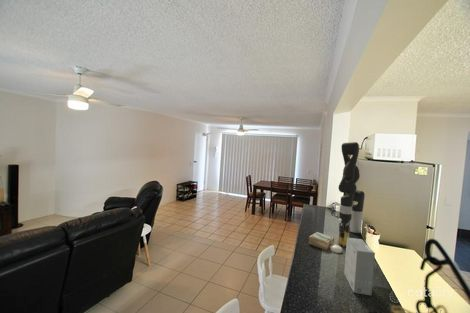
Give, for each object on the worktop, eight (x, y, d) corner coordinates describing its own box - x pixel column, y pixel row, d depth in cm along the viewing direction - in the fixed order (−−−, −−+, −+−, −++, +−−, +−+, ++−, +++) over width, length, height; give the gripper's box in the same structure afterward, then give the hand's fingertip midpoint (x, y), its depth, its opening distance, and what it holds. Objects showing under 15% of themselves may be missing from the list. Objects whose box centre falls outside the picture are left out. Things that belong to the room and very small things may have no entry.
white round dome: (332, 246, 142) (332, 243, 142) (343, 250, 138) (343, 247, 137) (328, 250, 138) (328, 246, 137) (339, 254, 133) (339, 250, 132)
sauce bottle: (336, 243, 148) (338, 215, 146) (344, 243, 148) (346, 215, 147) (341, 247, 141) (343, 218, 140) (350, 247, 142) (352, 218, 140)
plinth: (316, 238, 154) (316, 231, 153) (333, 244, 145) (334, 236, 145) (308, 243, 145) (309, 235, 145) (326, 250, 137) (326, 242, 137)
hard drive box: (372, 296, 95) (375, 253, 94) (353, 293, 97) (356, 251, 96) (359, 275, 110) (362, 238, 109) (343, 273, 112) (346, 236, 111)
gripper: (343, 208, 151) (341, 231, 152) (335, 212, 141) (334, 237, 142) (355, 211, 146) (353, 235, 147) (348, 215, 135) (346, 241, 136)
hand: (343, 235), depth 144 cm, fingers closed on sauce bottle, 6 cm apart
